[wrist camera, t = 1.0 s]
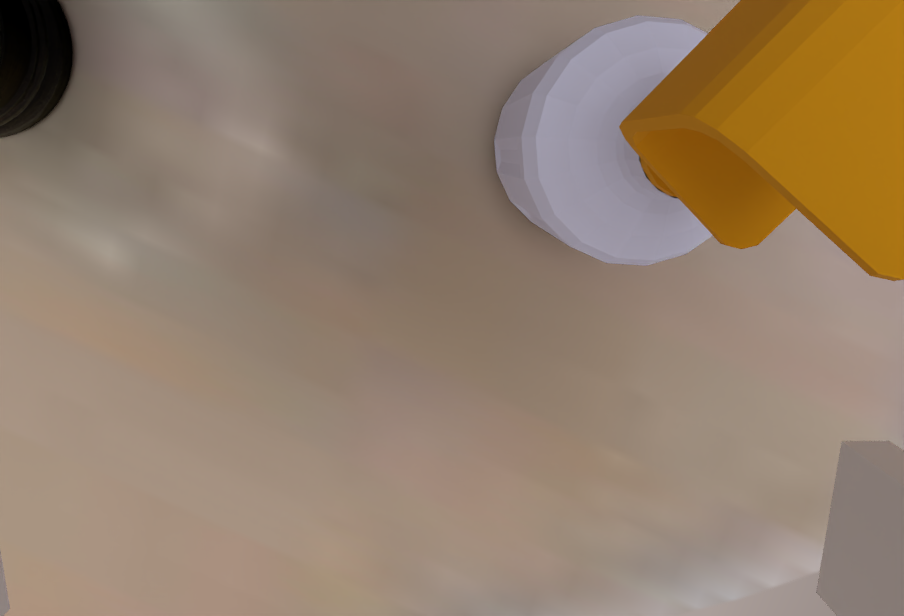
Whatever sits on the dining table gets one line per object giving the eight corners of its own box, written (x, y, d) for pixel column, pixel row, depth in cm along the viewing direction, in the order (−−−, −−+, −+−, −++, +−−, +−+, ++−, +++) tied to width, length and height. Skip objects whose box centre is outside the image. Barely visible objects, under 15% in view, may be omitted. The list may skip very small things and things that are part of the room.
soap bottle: (578, 269, 36) (894, 505, 12) (456, 147, 34) (545, 143, 10) (703, 145, 35) (1325, 137, 11) (583, 12, 33) (1014, -342, 9)
